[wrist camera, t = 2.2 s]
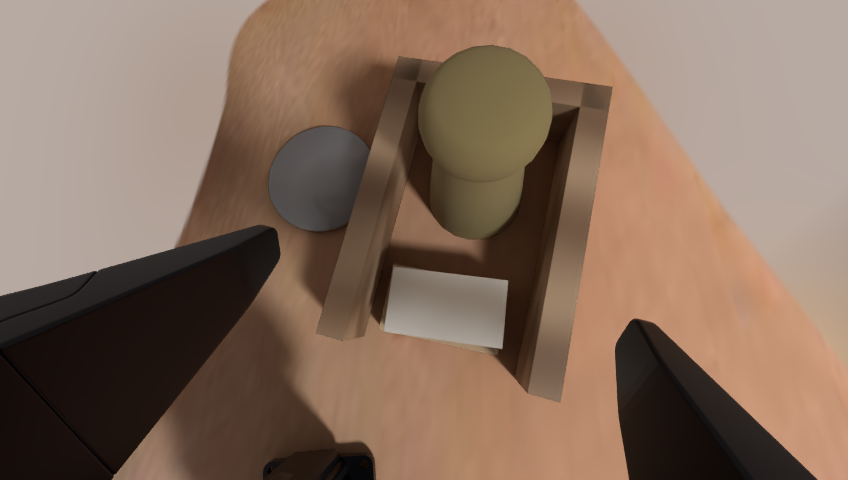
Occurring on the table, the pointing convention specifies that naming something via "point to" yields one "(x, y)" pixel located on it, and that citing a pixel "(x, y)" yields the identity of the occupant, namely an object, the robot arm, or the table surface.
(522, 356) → the brown wooden rectangular frame
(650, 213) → the table surface
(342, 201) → the slate pad
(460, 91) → the olive knobbed peg
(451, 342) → the light grey rectangular block
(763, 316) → the table surface
